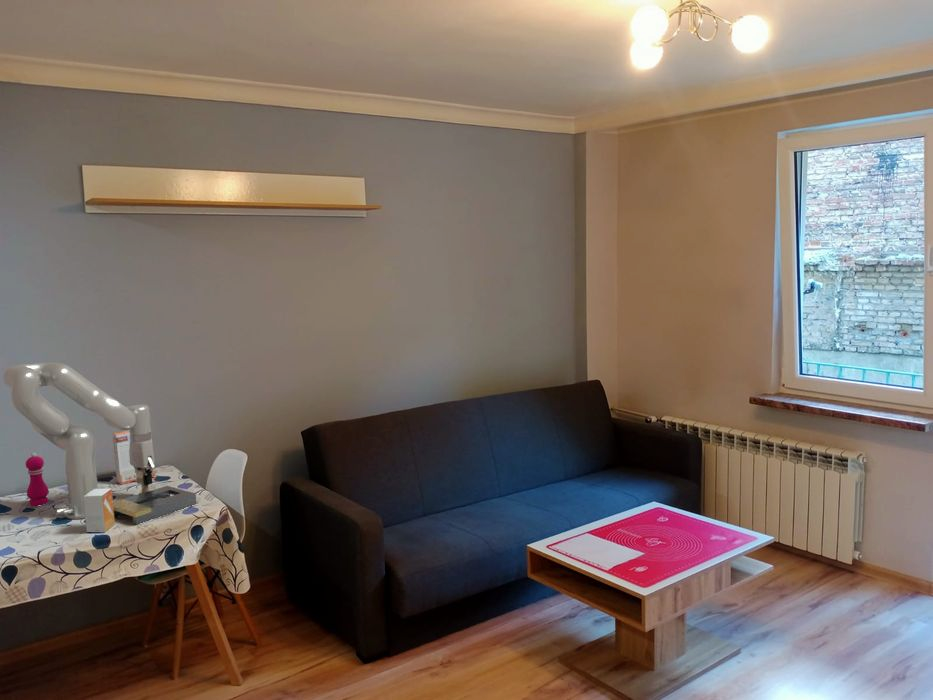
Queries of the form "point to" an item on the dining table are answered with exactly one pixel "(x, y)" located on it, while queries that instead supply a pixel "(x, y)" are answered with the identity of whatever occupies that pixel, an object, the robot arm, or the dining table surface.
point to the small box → (99, 510)
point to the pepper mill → (36, 481)
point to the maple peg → (141, 480)
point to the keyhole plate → (154, 503)
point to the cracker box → (124, 458)
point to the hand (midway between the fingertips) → (144, 482)
